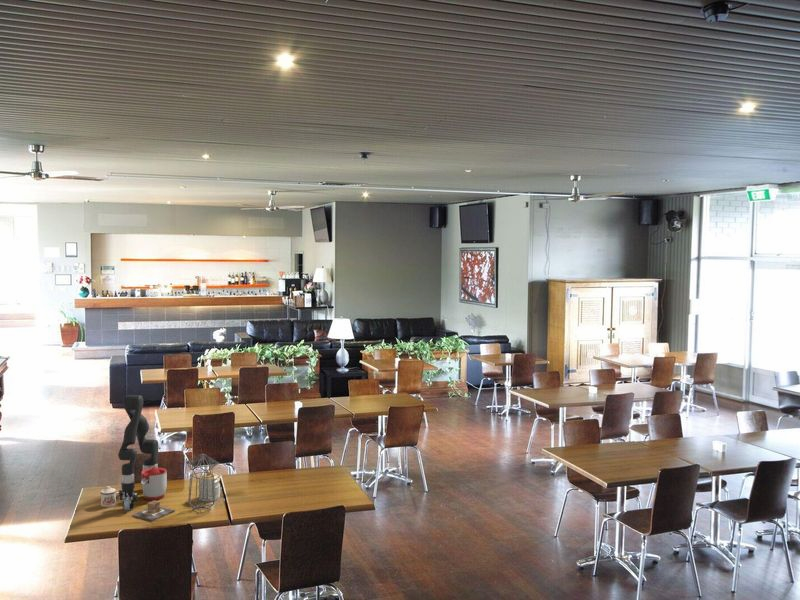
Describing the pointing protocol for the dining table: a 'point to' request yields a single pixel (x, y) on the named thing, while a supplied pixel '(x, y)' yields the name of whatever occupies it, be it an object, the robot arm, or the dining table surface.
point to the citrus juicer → (154, 483)
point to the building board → (153, 517)
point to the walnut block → (153, 507)
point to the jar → (209, 486)
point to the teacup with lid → (108, 497)
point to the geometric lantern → (201, 478)
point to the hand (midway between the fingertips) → (128, 508)
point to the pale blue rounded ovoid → (127, 505)
